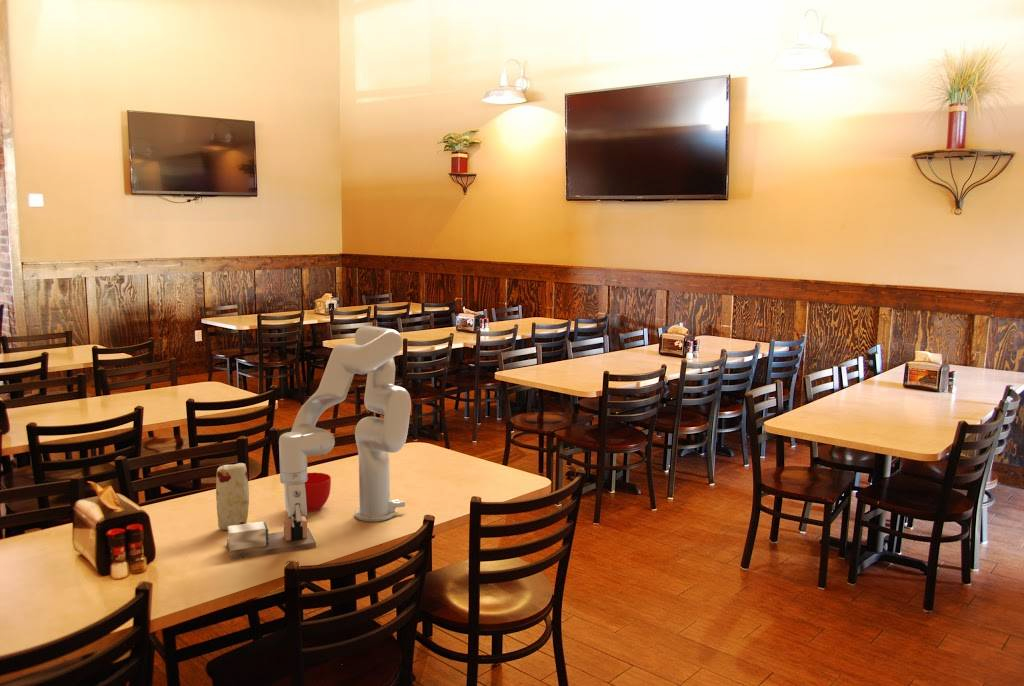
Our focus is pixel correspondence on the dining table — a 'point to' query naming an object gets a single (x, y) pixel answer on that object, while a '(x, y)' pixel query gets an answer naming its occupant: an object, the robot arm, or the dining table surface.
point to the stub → (289, 524)
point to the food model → (232, 495)
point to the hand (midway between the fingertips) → (295, 536)
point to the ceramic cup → (317, 490)
